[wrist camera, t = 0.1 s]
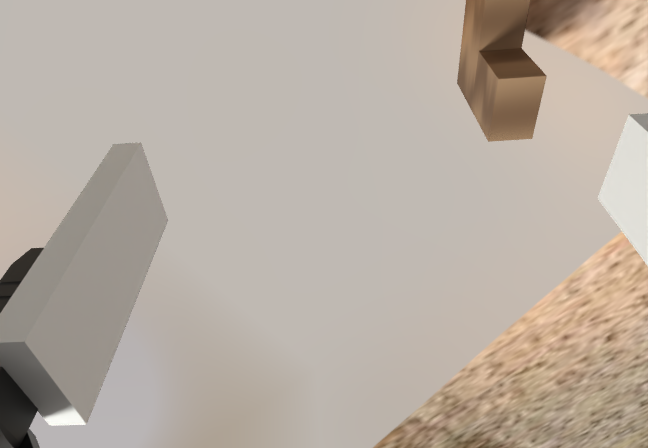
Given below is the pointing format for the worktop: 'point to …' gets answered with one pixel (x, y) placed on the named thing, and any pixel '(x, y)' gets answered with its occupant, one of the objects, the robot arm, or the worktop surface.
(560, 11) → the worktop surface
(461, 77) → the walnut u-shaped block
